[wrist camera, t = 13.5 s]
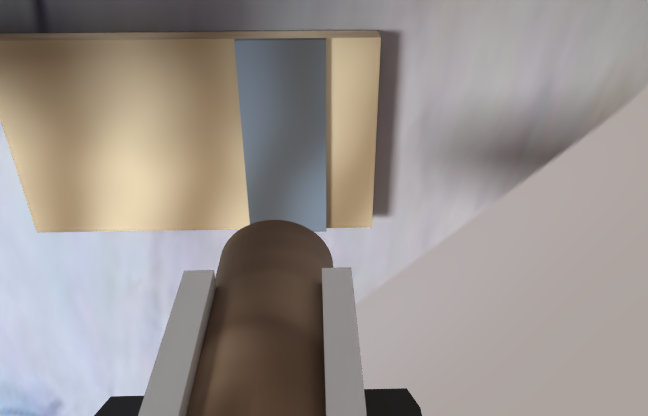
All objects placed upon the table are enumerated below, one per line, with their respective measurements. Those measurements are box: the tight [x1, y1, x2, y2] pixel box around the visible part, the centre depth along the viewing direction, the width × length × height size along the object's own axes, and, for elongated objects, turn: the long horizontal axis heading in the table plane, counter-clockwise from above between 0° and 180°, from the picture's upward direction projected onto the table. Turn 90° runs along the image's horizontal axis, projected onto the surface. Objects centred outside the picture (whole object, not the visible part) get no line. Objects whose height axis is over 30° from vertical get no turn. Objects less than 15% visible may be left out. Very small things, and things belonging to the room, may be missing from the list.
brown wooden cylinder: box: [186, 220, 333, 416], centre depth 12 cm, size 3×3×10 cm
